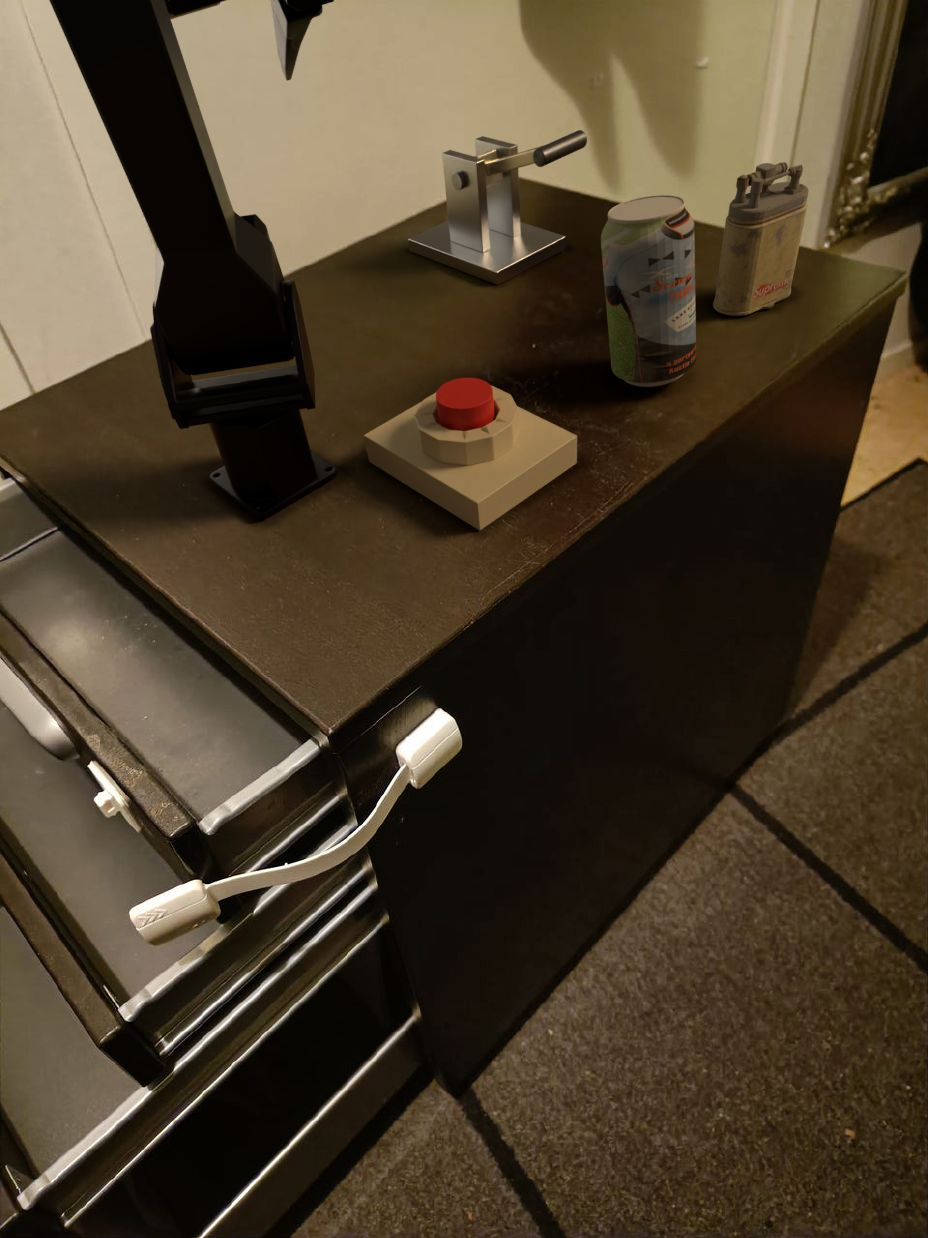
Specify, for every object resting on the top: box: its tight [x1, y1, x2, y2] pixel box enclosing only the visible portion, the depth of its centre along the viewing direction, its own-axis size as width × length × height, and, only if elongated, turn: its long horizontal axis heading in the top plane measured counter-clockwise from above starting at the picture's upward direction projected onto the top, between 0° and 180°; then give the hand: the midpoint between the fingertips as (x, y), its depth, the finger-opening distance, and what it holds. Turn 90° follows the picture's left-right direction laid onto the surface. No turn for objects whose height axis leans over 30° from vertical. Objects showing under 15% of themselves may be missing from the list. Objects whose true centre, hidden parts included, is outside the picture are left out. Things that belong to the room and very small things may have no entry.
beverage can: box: [600, 194, 697, 388], centre depth 57 cm, size 6×7×12 cm
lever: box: [473, 129, 588, 187], centre depth 70 cm, size 12×5×2 cm, turn 43°
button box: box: [363, 385, 578, 531], centre depth 55 cm, size 11×9×4 cm
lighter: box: [712, 161, 809, 317], centre depth 64 cm, size 7×4×10 cm, turn 122°
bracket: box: [407, 135, 567, 286], centre depth 76 cm, size 12×9×9 cm
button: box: [435, 377, 494, 431], centre depth 53 cm, size 4×4×2 cm
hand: (233, 92), depth 67 cm, fingers open, 9 cm apart
